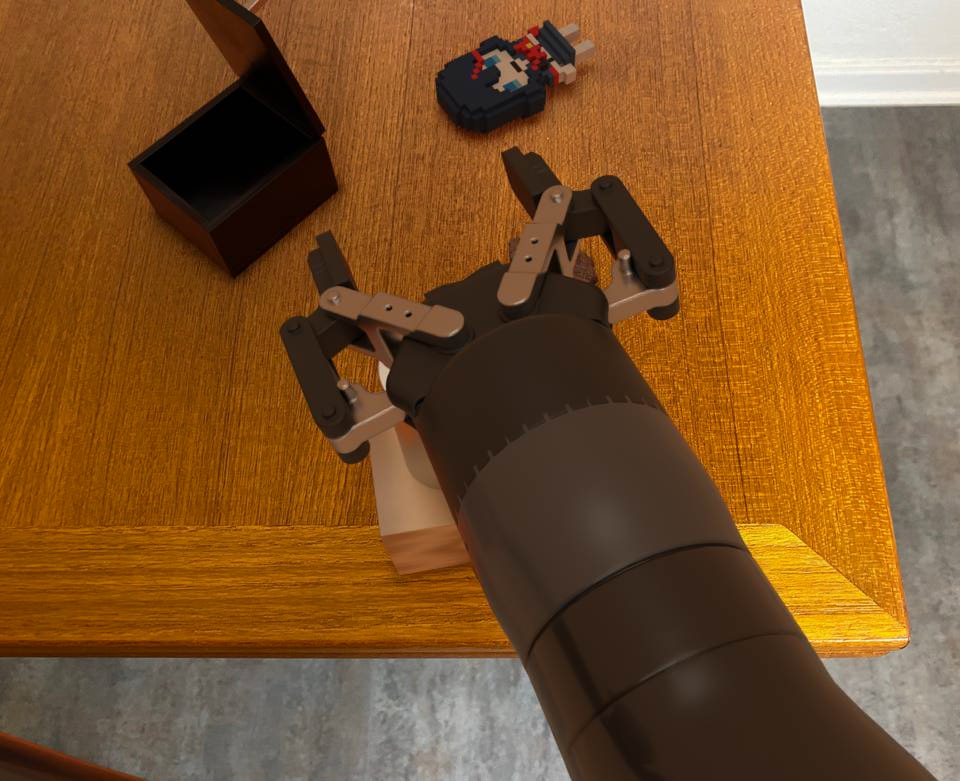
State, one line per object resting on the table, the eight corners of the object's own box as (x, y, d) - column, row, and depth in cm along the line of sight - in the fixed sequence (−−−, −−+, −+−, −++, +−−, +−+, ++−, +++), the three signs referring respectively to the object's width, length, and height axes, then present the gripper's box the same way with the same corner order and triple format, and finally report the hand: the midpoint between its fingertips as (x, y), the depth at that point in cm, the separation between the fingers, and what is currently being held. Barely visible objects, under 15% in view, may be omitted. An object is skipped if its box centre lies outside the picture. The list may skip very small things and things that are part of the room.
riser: (399, 575, 64) (380, 536, 55) (382, 449, 68) (362, 394, 59) (534, 551, 64) (537, 508, 55) (509, 427, 69) (508, 369, 60)
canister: (410, 497, 56) (384, 421, 45) (398, 417, 58) (371, 328, 47) (496, 482, 56) (491, 403, 45) (481, 403, 58) (473, 310, 48)
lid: (253, 26, 60) (303, -25, 61) (156, -42, 63) (204, -89, 64) (320, 137, 73) (360, 94, 73) (236, 75, 76) (275, 35, 77)
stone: (504, 246, 76) (504, 224, 73) (588, 237, 76) (591, 215, 73) (513, 312, 73) (513, 292, 70) (600, 303, 73) (604, 283, 70)
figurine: (612, 52, 79) (469, 122, 77) (608, 87, 83) (472, 155, 80) (559, -5, 83) (420, 59, 80) (557, 31, 87) (424, 94, 84)
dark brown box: (233, 279, 75) (208, 232, 69) (156, 214, 79) (126, 163, 73) (339, 189, 79) (324, 137, 73) (261, 131, 83) (241, 76, 76)
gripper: (783, 320, 25) (555, 60, 35) (317, 537, 24) (227, 209, 35) (781, 462, 30) (585, 203, 41) (404, 640, 30) (304, 332, 40)
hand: (421, 206), depth 38 cm, fingers open, 8 cm apart
